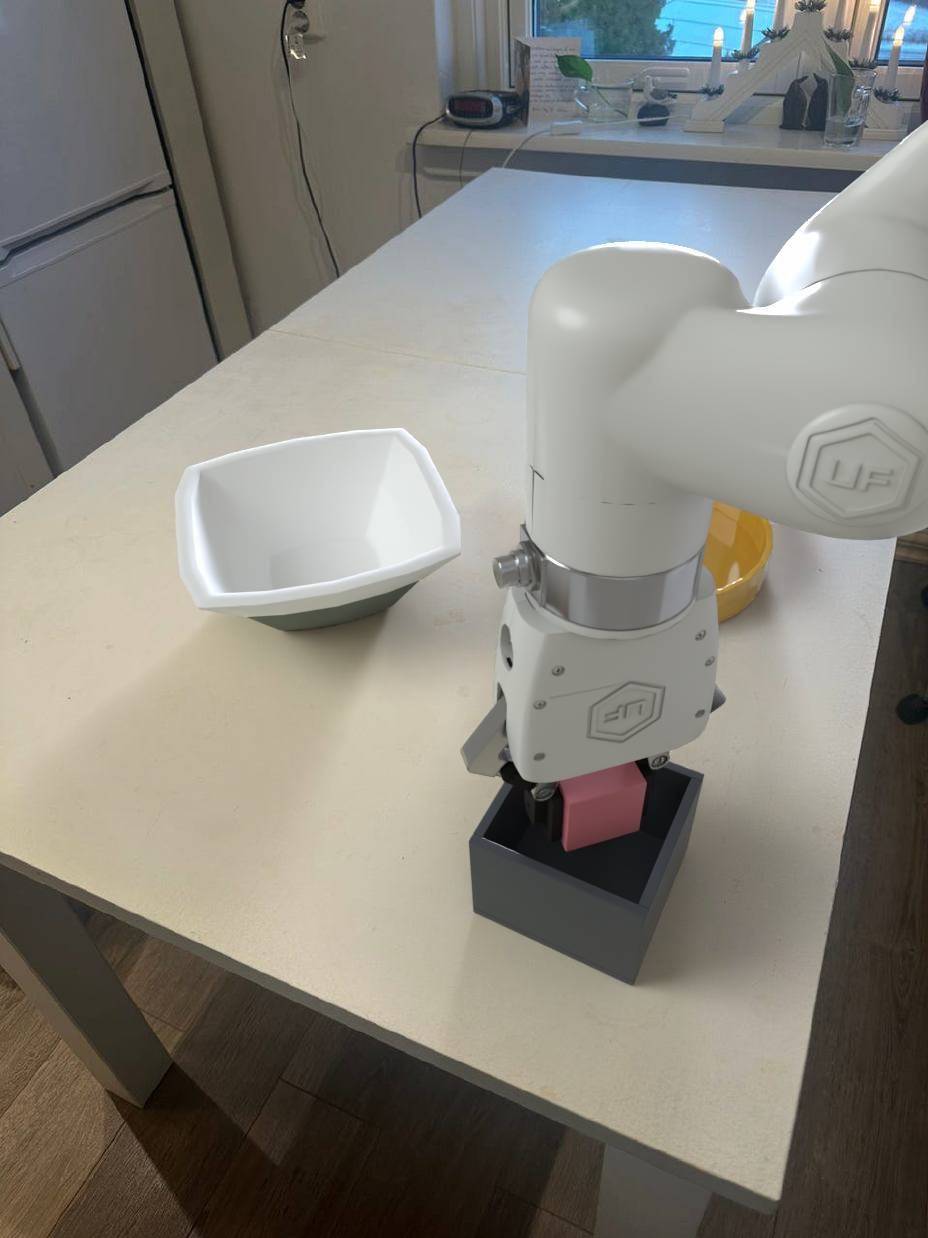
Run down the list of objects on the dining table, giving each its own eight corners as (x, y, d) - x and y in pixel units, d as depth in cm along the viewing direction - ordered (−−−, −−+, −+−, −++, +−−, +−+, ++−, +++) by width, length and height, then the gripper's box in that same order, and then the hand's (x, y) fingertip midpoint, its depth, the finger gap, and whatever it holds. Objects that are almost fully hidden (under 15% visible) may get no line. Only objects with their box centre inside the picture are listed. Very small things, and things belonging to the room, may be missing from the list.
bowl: (418, 491, 87) (411, 416, 82) (485, 642, 71) (482, 560, 65) (194, 535, 83) (171, 459, 78) (210, 705, 67) (181, 624, 61)
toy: (607, 771, 52) (613, 722, 49) (639, 831, 49) (647, 782, 46) (537, 790, 51) (539, 741, 48) (565, 852, 48) (569, 804, 45)
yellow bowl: (696, 477, 87) (700, 446, 85) (811, 601, 73) (821, 568, 70) (506, 518, 83) (506, 487, 81) (588, 657, 69) (591, 625, 67)
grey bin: (541, 789, 60) (544, 715, 55) (687, 847, 56) (704, 773, 51) (473, 912, 53) (467, 841, 48) (632, 987, 49) (645, 918, 44)
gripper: (447, 661, 33) (465, 909, 45) (836, 566, 36) (754, 822, 49) (400, 546, 38) (427, 796, 51) (742, 473, 42) (690, 725, 54)
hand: (587, 807), depth 49 cm, fingers closed on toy, 4 cm apart
